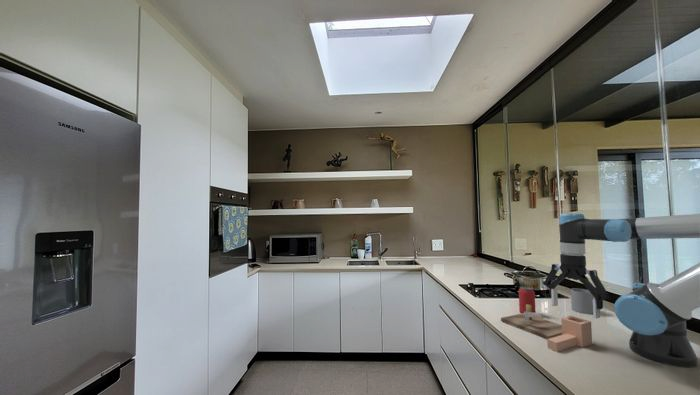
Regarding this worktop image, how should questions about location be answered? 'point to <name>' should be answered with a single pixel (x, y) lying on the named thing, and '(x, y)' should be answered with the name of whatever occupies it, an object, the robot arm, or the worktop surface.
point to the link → (572, 334)
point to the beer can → (526, 298)
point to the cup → (582, 301)
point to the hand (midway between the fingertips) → (574, 311)
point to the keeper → (531, 314)
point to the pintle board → (534, 325)
